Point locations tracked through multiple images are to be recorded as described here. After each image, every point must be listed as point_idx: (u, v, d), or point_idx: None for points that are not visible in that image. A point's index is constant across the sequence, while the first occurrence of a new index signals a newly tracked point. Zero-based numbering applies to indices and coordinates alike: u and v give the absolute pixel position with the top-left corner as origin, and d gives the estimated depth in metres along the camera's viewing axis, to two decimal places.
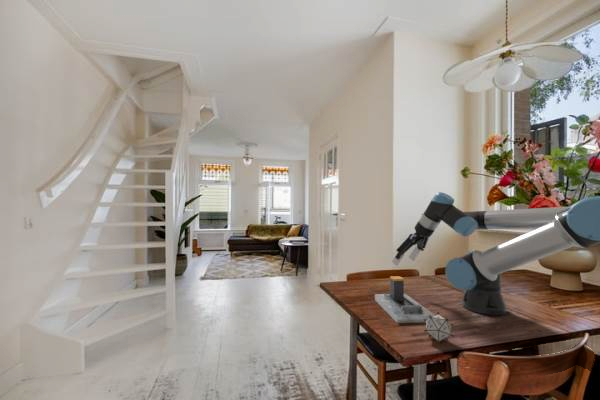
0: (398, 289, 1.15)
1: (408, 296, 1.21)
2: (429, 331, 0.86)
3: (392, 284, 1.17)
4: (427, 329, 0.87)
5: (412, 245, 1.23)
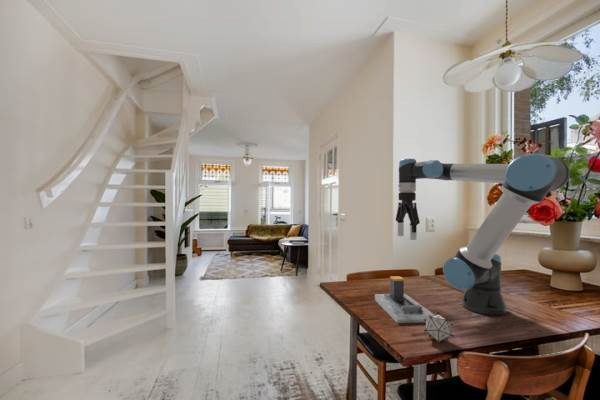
0: (398, 289, 1.15)
1: (408, 296, 1.21)
2: (429, 331, 0.86)
3: (392, 284, 1.17)
4: (427, 329, 0.87)
5: None
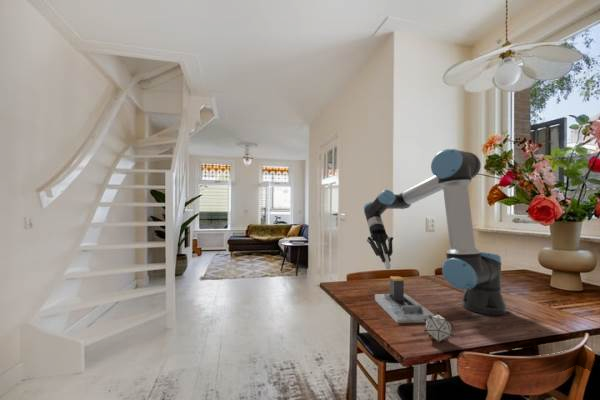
0: (398, 289, 1.15)
1: (408, 296, 1.21)
2: (429, 331, 0.86)
3: (392, 284, 1.17)
4: (427, 329, 0.87)
5: (380, 243, 1.35)
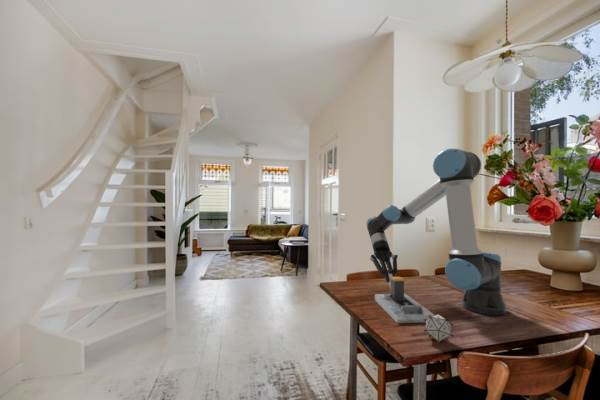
0: (398, 289, 1.15)
1: (408, 296, 1.21)
2: (429, 331, 0.86)
3: (392, 284, 1.17)
4: (427, 329, 0.87)
5: (383, 261, 1.29)
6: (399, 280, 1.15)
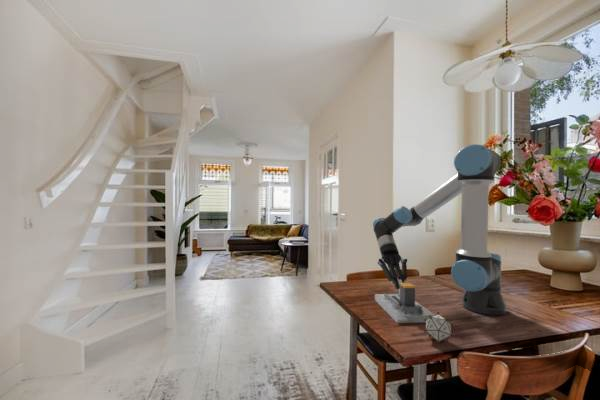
0: (409, 297, 1.06)
1: None
2: (429, 331, 0.86)
3: (402, 291, 1.07)
4: (427, 329, 0.87)
5: (392, 266, 1.19)
6: (410, 287, 1.06)
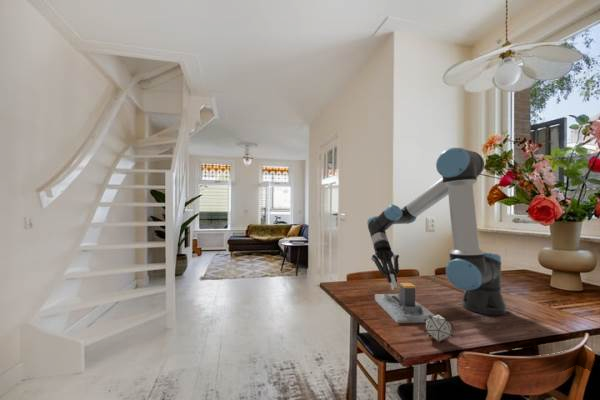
0: (409, 297, 1.05)
1: None
2: (429, 331, 0.86)
3: (402, 292, 1.07)
4: (427, 329, 0.87)
5: (385, 261, 1.27)
6: (410, 287, 1.05)
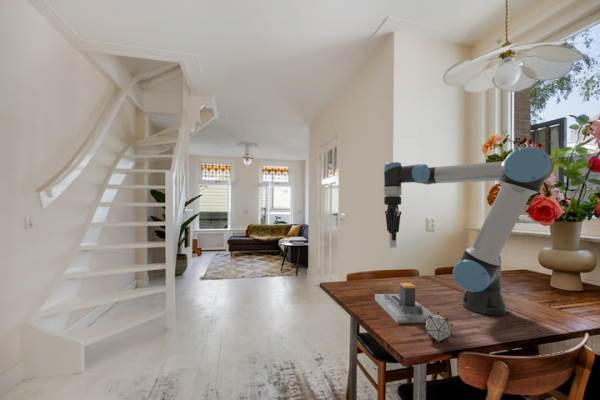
0: (409, 297, 1.05)
1: None
2: (429, 331, 0.86)
3: (402, 292, 1.07)
4: (427, 329, 0.87)
5: None
6: (410, 287, 1.05)
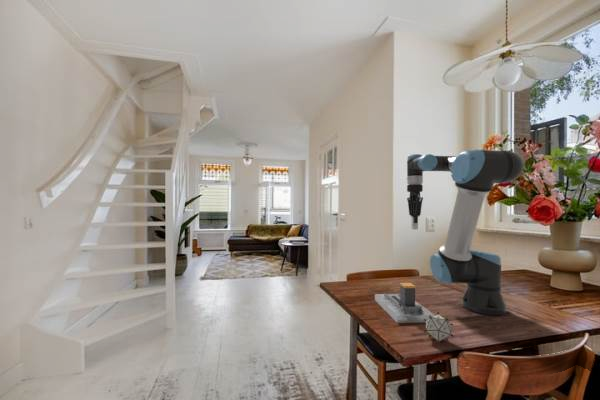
0: (409, 297, 1.05)
1: None
2: (429, 331, 0.86)
3: (402, 292, 1.07)
4: (427, 329, 0.87)
5: None
6: (410, 287, 1.05)
